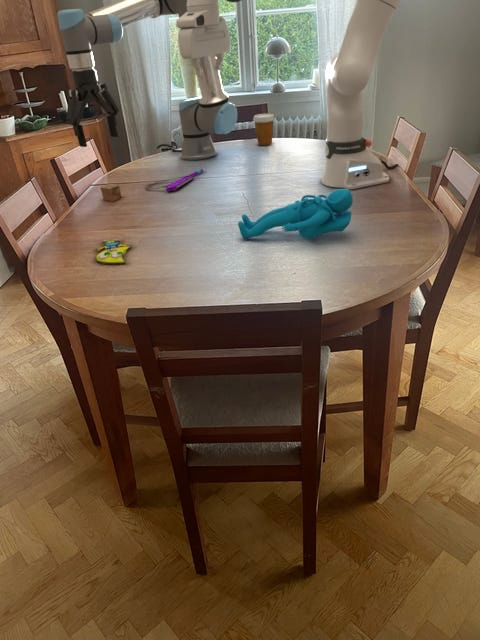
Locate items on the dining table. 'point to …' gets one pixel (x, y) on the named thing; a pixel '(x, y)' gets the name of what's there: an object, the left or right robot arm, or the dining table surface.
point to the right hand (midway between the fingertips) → (209, 73)
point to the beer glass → (264, 128)
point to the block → (111, 192)
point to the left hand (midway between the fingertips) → (99, 141)
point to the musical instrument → (178, 181)
